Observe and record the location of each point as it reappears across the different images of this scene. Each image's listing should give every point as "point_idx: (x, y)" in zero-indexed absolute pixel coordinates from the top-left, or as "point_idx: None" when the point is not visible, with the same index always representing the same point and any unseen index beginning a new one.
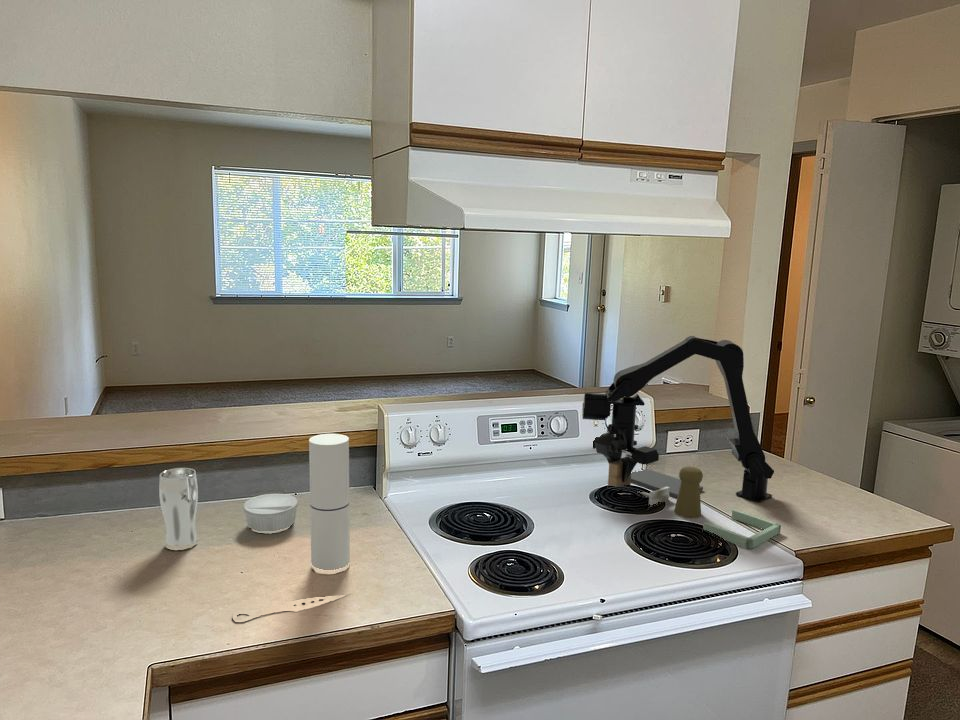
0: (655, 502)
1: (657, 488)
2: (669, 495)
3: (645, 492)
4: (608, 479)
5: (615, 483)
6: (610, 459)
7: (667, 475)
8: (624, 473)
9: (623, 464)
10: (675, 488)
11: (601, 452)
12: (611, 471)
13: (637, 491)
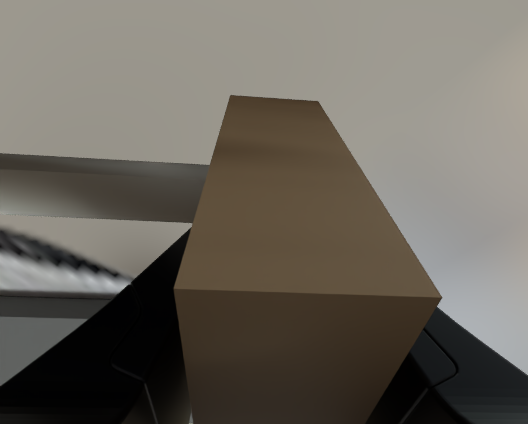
0: None
1: (81, 314)
2: (2, 297)
3: (25, 213)
4: (335, 134)
5: (232, 122)
6: (476, 410)
7: (189, 422)
8: (163, 265)
9: (119, 388)
10: (29, 359)
11: None
12: (318, 187)
13: (68, 186)
